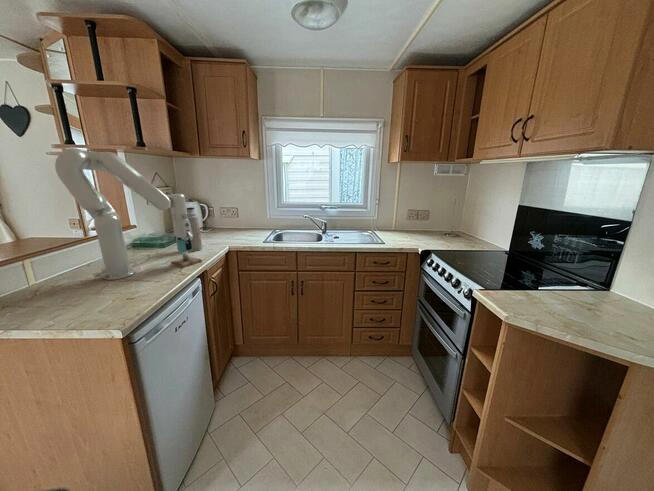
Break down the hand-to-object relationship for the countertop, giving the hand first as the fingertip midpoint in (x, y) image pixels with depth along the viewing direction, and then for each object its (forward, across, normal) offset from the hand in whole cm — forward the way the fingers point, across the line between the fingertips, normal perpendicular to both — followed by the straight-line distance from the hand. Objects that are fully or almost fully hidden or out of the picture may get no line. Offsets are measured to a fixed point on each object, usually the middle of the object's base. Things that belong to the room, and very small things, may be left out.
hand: (185, 248), depth 148 cm
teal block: (+1, 0, 0) cm, 1 cm away
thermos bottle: (+9, +20, -20) cm, 29 cm away
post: (+7, 0, 0) cm, 7 cm away
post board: (+9, 0, 0) cm, 9 cm away
